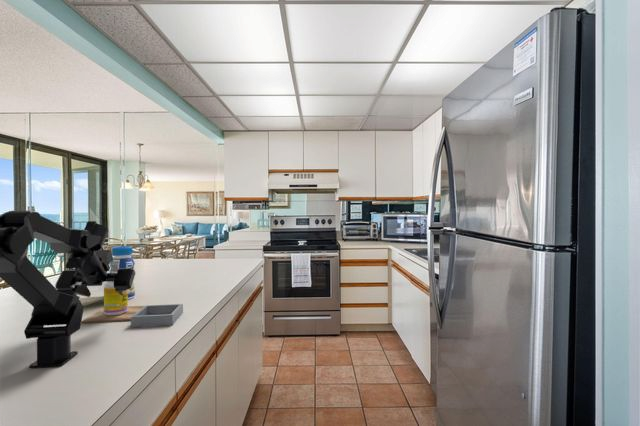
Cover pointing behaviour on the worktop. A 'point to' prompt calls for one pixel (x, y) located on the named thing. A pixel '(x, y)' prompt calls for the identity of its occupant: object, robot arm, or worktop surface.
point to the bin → (157, 315)
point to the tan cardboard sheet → (102, 317)
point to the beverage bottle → (123, 263)
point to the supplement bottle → (114, 300)
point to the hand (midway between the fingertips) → (106, 294)
